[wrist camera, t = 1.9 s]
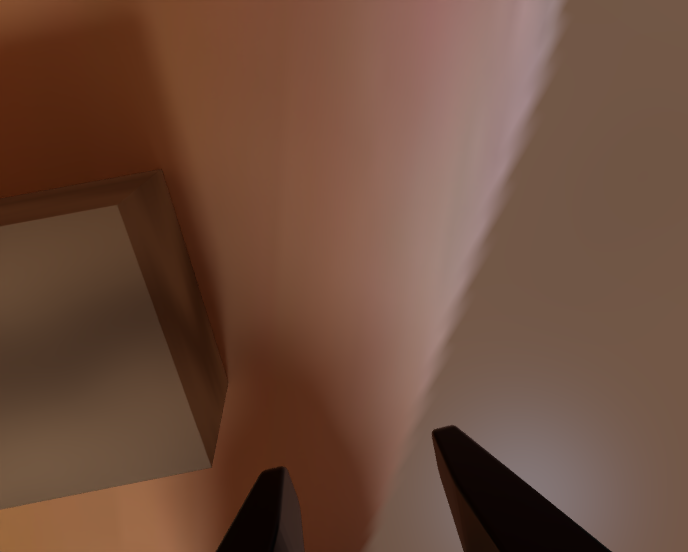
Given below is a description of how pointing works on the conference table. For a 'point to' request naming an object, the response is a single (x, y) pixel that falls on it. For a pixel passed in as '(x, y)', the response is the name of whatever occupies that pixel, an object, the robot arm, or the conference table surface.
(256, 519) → the robot arm
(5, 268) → the walnut block
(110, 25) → the conference table surface
